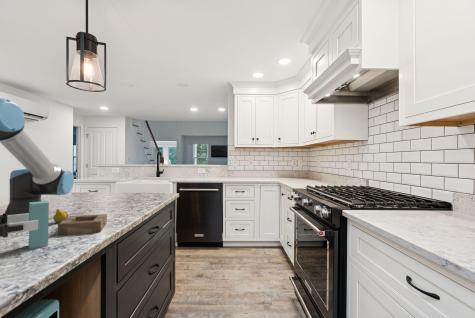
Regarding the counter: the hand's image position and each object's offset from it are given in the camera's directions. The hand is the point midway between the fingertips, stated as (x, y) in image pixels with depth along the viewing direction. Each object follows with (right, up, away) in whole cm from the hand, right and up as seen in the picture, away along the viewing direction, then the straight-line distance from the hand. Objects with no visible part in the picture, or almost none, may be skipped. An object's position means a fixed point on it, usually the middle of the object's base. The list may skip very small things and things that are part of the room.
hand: (35, 220), depth 79 cm
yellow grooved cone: (-13, -9, +30) cm, 34 cm away
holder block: (+3, -9, +21) cm, 23 cm away
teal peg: (0, -8, +1) cm, 8 cm away
